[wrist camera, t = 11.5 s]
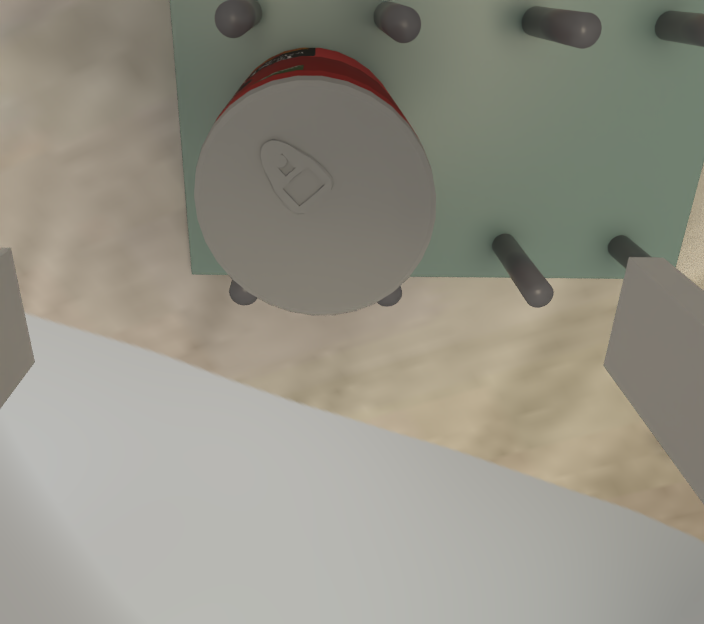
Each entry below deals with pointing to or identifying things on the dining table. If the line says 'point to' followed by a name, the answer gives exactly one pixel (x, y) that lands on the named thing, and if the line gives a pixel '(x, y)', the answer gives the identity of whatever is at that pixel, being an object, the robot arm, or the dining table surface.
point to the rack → (493, 120)
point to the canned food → (315, 186)
